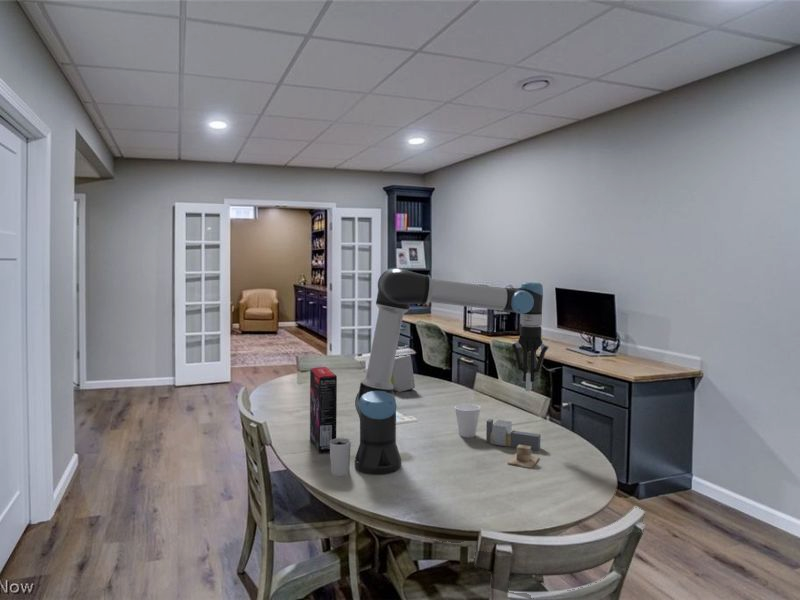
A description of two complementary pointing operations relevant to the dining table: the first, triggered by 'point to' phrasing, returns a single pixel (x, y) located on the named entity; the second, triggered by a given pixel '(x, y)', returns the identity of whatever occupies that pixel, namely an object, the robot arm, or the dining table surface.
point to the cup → (467, 419)
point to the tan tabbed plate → (523, 457)
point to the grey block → (501, 432)
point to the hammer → (516, 438)
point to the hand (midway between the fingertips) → (528, 390)
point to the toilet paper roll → (340, 456)
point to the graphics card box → (323, 408)
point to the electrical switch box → (402, 374)
